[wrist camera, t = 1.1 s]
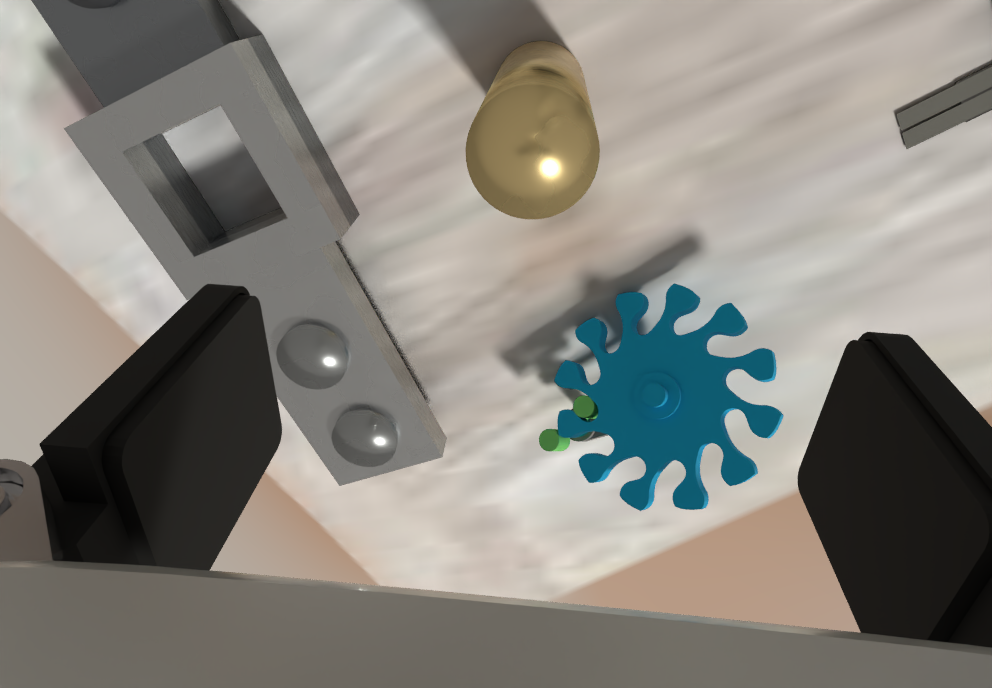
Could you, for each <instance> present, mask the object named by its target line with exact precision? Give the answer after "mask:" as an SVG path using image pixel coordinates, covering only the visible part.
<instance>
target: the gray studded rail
mask: <svg viewBox="0 0 992 688" xmlns="http://www.w3.org/2000/svg"><path fill="white" fill-rule="evenodd" d="M32 2H33V3H34V5H35V6H36V8H37V9H38V11H39V12H40V14H41V15H42V17H43V18H44V20H45V21H46V23H47V24H48V26H49V27H50V28H51V30H52V31H53V33H54V34H55V36H56V37H57V39H58V40H59V42H60V43H61V45H62V46H63V48H64V49H65V51H66V52H67V54H68V55H69V57H70V58H71V59H72V61H73V62H74V64H75V65H76V67H77V68H78V70H79V71H80V73H81V74H82V76H83V77H84V79H85V80H86V82H87V83H88V85H89V86H90V87H91V89H92V90H93V92H94V93H95V95H96V96H97V98H98V99H99V101H100V102H101V104H102V105H103V107H104V108H103V109H101V110H99V111H97V112H95V113H93V114H91V115H89V116H87V117H85V118H83V119H81V120H79V121H78V122H76V123H74V124H72V125H70V126H68V127H66V128H64V129H65V131H66V132H67V134H68V135H69V136H70V138H71V139H72V141H73V142H74V143H75V145H76V146H77V147H78V149H79V150H80V152H81V153H82V154H83V156H84V157H85V159H86V160H87V161H88V163H89V164H90V166H91V167H92V168H93V170H94V171H95V173H96V174H97V175H98V177H99V178H100V180H101V181H102V182H103V184H104V185H105V187H106V188H107V189H108V191H109V192H110V194H111V195H112V196H113V198H114V199H115V200H116V202H117V203H118V205H119V206H120V207H121V209H122V210H123V212H124V213H125V214H126V216H127V217H128V219H129V220H130V221H131V223H132V224H133V226H134V227H135V228H136V230H137V231H138V233H139V234H140V235H141V237H142V238H143V240H144V241H145V242H146V244H147V245H148V247H149V248H150V249H151V251H152V252H153V253H154V255H155V256H156V258H157V259H158V260H159V262H160V263H161V265H162V266H163V267H164V269H165V270H166V272H167V273H168V274H169V276H170V277H171V279H172V280H173V281H174V283H175V284H176V286H177V287H178V288H179V290H180V291H181V293H182V294H183V295H184V297H185V298H186V299H187V300H189V299H191V298H192V297H193V296H194V295H195V294H196V293H197V292H198V291H199V290H200V289H201V288H202V287H203V286H205V285H206V284H220V285H233V286H244V287H245V288H246V289H247V290H248V292H249V294H250V296H256V297H257V298H258V299H259V301H260V305H261V310H262V316H263V321H264V327H265V333H266V339H267V344H268V350H269V356H270V362H271V367H272V373H273V379H274V384H275V390H276V396H277V397H278V398H279V400H280V401H281V403H282V404H283V406H284V407H285V408H286V410H287V411H288V413H289V414H290V416H291V417H292V418H293V420H294V421H295V423H296V424H297V426H298V427H299V428H300V430H301V431H302V433H303V434H304V436H305V437H306V438H307V440H308V441H309V443H310V444H311V446H312V447H313V448H314V450H315V451H316V453H317V454H318V456H319V457H320V459H321V460H322V461H323V463H324V464H325V466H326V467H327V469H328V470H329V471H330V473H331V474H332V476H333V477H334V479H335V480H336V481H337V483H338V484H339V486H341V485H345V484H348V483H352V482H355V481H359V480H363V479H366V478H370V477H373V476H377V475H380V474H384V473H388V472H391V471H395V470H398V469H402V468H406V467H409V466H413V465H416V464H420V463H423V462H427V461H431V460H434V459H438V458H441V457H443V452H444V448H445V443H446V439H447V438H446V436H445V434H444V432H443V431H442V429H441V427H440V425H439V424H438V422H437V420H436V418H435V417H434V415H433V413H432V411H431V410H430V408H429V406H428V404H427V403H426V401H425V399H424V397H423V396H422V394H421V392H420V390H419V388H418V387H417V385H416V383H415V381H414V380H413V378H412V376H411V374H410V373H409V371H408V369H407V367H406V366H405V364H404V362H403V360H402V359H401V357H400V355H399V353H398V352H397V350H396V348H395V346H394V344H393V343H392V341H391V339H390V337H389V336H388V334H387V332H386V330H385V329H384V327H383V325H382V323H381V322H380V320H379V318H378V316H377V315H376V313H375V311H374V309H373V308H372V306H371V304H370V302H369V300H368V299H367V297H366V295H365V293H364V292H363V290H362V288H361V286H360V285H359V283H358V281H357V279H356V278H355V276H354V274H353V272H352V271H351V269H350V267H349V265H348V263H347V262H346V260H345V258H344V256H343V255H342V253H341V251H340V249H339V248H338V246H337V244H336V242H335V241H338V240H340V239H341V238H342V237H343V236H344V234H345V233H346V232H347V230H348V229H349V228H350V226H351V225H352V224H353V222H354V221H355V220H356V219H357V217H358V216H359V215H360V214H359V213H358V211H357V209H356V207H355V205H354V203H353V201H352V200H351V198H350V196H349V194H348V192H347V190H346V188H345V187H344V185H343V183H342V181H341V179H340V177H339V175H338V174H337V172H336V170H335V168H334V166H333V164H332V162H331V160H330V159H329V157H328V155H327V153H326V151H325V149H324V147H323V146H322V144H321V142H320V140H319V138H318V136H317V134H316V133H315V131H314V129H313V127H312V125H311V123H310V121H309V120H308V118H307V116H306V114H305V112H304V110H303V108H302V107H301V105H300V103H299V101H298V99H297V97H296V95H295V94H294V92H293V90H292V88H291V86H290V84H289V82H288V80H287V79H286V77H285V75H284V73H283V71H282V69H281V67H280V66H279V64H278V62H277V60H276V58H275V56H274V54H273V53H272V51H271V49H270V47H269V45H268V43H267V41H266V40H265V38H264V36H263V34H262V35H258V36H254V37H250V38H246V39H243V40H239V38H238V36H237V35H236V33H235V31H234V29H233V27H232V26H231V24H230V22H229V20H228V18H227V17H226V15H225V13H224V11H223V9H222V8H221V6H220V4H219V2H218V0H32ZM220 105H221V107H222V108H223V110H224V112H225V113H226V115H227V117H228V118H229V120H230V122H231V123H232V125H233V127H234V128H235V130H236V132H237V133H238V135H239V137H240V138H241V140H242V142H243V144H244V145H245V147H246V149H247V150H248V152H249V154H250V155H251V157H252V159H253V160H254V162H255V164H256V165H257V167H258V169H259V170H260V172H261V174H262V176H263V177H264V179H265V181H266V182H267V184H268V186H269V187H270V189H271V191H272V192H273V194H274V196H275V197H276V199H277V201H278V202H279V204H280V206H281V207H282V208H280V209H277V210H275V211H273V212H270V213H268V214H265V215H263V216H261V217H258V218H256V219H254V220H251V221H249V222H246V223H244V224H242V225H239V226H237V227H235V228H232V229H230V230H228V231H224V230H223V228H222V226H221V225H220V223H219V222H218V220H217V219H216V217H215V216H214V214H213V213H212V211H211V210H210V208H209V206H208V205H207V203H206V202H205V200H204V199H203V197H202V196H201V194H200V193H199V191H198V190H197V188H196V186H195V185H194V183H193V182H192V180H191V179H190V177H189V176H188V174H187V173H186V171H185V169H184V168H183V166H182V165H181V163H180V162H179V160H178V159H177V157H176V156H175V154H174V153H173V151H172V149H171V148H170V146H169V145H168V143H167V142H166V140H165V139H164V137H163V136H162V133H164V132H166V131H168V130H171V129H173V128H175V127H177V126H179V125H181V124H183V123H185V122H187V121H189V120H191V119H193V118H195V117H197V116H199V115H201V114H203V113H205V112H207V111H210V110H212V109H214V108H216V107H218V106H220Z"/></svg>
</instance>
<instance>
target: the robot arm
mask: <svg viewBox="0 0 992 688" xmlns="http://www.w3.org/2000/svg"><path fill="white" fill-rule="evenodd" d="M281 435H282V425H281V419H280V413H279V407H278V402H277V396H276V390H275V384H274V379H273V373H272V367H271V362H270V356H269V350H268V344H267V339H266V333H265V327H264V321H263V316H262V310H261V305H260V301H259V299H258V298H257V297H256V296H250V294H249V292H248V290H247V289H246V288H245V287H244V286H233V285H220V284H206V285H205V286H203V287H202V288H201V289H200V290H199V291H198V292H197V293H196V294H195V295H194V296H193V297H192V298H191V299H190V300H189V301H188V302H187V303H186V304H185V305H183V306H182V307H181V308H180V309H179V310H178V311H177V312H176V313H175V314H174V315H173V316H172V317H171V318H170V319H169V320H168V321H167V322H166V323H165V324H164V325H163V326H162V327H161V328H160V329H159V330H157V331H156V332H155V333H154V334H153V335H152V336H151V337H150V338H149V339H148V340H147V341H146V342H145V343H144V344H143V345H142V346H141V347H140V348H139V349H138V350H137V351H136V352H135V353H134V354H133V355H131V356H130V357H129V358H128V359H127V360H126V361H125V362H124V363H123V364H122V365H121V366H120V367H119V368H118V369H117V370H116V371H115V372H114V373H113V374H112V375H111V376H110V377H109V378H108V379H107V380H105V382H103V383H102V384H101V385H100V386H99V387H98V388H97V389H96V390H95V391H94V392H93V393H92V394H91V395H90V396H89V397H88V398H87V399H86V400H85V401H84V402H83V403H82V404H81V405H79V406H78V407H77V408H76V409H75V410H74V411H73V412H72V413H71V414H70V415H69V416H68V417H67V418H66V419H65V420H64V421H63V422H62V423H61V424H60V425H59V426H58V427H57V428H56V429H55V430H53V431H52V432H51V434H49V435H48V437H46V438H45V439H44V440H43V441H42V442H41V443H40V447H41V449H42V451H43V455H42V456H41V457H40V458H39V459H38V460H37V461H36V462H35V463H34V464H33V465H32V466H30V465H28V464H26V463H24V462H22V461H16V460H10V459H0V688H992V427H991V426H990V425H989V424H988V423H987V421H986V420H985V419H984V418H983V417H982V416H981V415H980V414H979V412H978V411H977V410H976V409H975V408H974V407H973V406H972V405H971V403H970V402H969V401H968V400H967V399H966V398H965V397H964V396H963V395H962V393H961V392H960V391H959V390H958V389H957V388H956V387H955V386H954V384H953V383H952V382H951V381H950V380H949V379H948V378H947V377H946V376H945V374H944V373H943V372H942V371H941V370H940V369H939V368H938V367H937V365H936V364H935V363H934V362H933V361H932V360H931V359H930V358H929V357H928V355H927V354H926V353H925V352H924V351H923V350H922V349H921V348H920V346H919V345H918V344H917V343H916V342H915V341H914V340H913V339H912V338H911V337H910V336H908V335H902V334H888V333H875V332H866V333H864V334H863V335H862V336H861V337H860V338H859V339H858V340H852V341H850V342H849V343H848V344H847V346H846V348H845V350H844V353H843V355H842V358H841V361H840V363H839V366H838V369H837V371H836V374H835V376H834V379H833V382H832V384H831V387H830V389H829V392H828V395H827V397H826V400H825V403H824V405H823V408H822V410H821V413H820V416H819V418H818V421H817V424H816V426H815V429H814V431H813V434H812V437H811V439H810V442H809V445H808V447H807V450H806V452H805V455H804V458H803V460H802V463H801V466H800V468H799V472H798V488H799V491H800V494H801V496H802V499H803V501H804V503H805V505H806V508H807V510H808V513H809V515H810V517H811V519H812V522H813V524H814V526H815V529H816V531H817V533H818V535H819V538H820V540H821V542H822V544H823V547H824V549H825V551H826V554H827V556H828V558H829V561H830V563H831V565H832V567H833V569H834V572H835V574H836V577H837V579H838V581H839V583H840V586H841V588H842V590H843V593H844V595H845V597H846V599H847V602H848V603H849V606H850V608H851V611H852V613H853V615H854V618H855V620H856V622H857V625H858V627H859V629H860V631H861V633H857V632H847V631H838V630H828V629H818V628H809V627H799V626H789V625H779V624H769V623H759V622H748V621H740V620H730V619H720V618H710V617H700V616H690V615H681V614H670V613H661V612H650V611H639V610H630V609H620V608H609V607H599V606H587V605H578V604H568V603H558V602H548V601H537V600H527V599H516V598H506V597H495V596H485V595H474V594H464V593H453V592H443V591H432V590H421V589H410V588H399V587H388V586H377V585H366V584H355V583H343V582H333V581H322V580H311V579H300V578H289V577H277V576H267V575H255V574H243V573H233V572H221V571H209V570H210V569H211V567H212V565H213V563H214V561H215V559H216V558H217V556H218V554H219V552H220V551H221V549H222V547H223V545H224V543H225V542H226V540H227V538H228V536H229V535H230V533H231V531H232V529H233V527H234V526H235V524H236V522H237V520H238V518H239V517H240V515H241V513H242V511H243V509H244V508H245V506H246V504H247V502H248V500H249V499H250V497H251V495H252V493H253V491H254V490H255V488H256V486H257V484H258V483H259V481H260V479H261V477H262V475H263V474H264V472H265V470H266V468H267V467H268V465H269V463H270V461H271V459H272V458H273V456H274V454H275V452H276V450H277V449H278V446H279V444H280V440H281Z"/></svg>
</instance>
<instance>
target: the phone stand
mask: <svg viewBox="0 0 992 688" xmlns="http://www.w3.org/2000/svg"><path fill="white" fill-rule="evenodd" d="M955 84H956V85H954V86H952V87H950V88H948V89H946V90H944V91H942V92H940V93H938V94H936V95H934V96H932V97H930V98H928V99H926V100H924V101H922V102H920V103H918V104H916V105H914V106H912V107H910V108H908V109H906V110H904V111H902V112H900V113H898V114H896V115H897V118H898V122H899V125H900V128H901V131H902V130H904V129H906V128H908V127H910V126H912V125H914V124H916V123H918V122H920V121H922V120H925V119H927V118H929V117H931V116H933V115H935V114H937V113H939V112H941V111H943V110H945V109H947V108H949V107H951V106H953V105H955V104H957V103H959V102H960V103H961V105H959V106H957V107H955V108H953V109H950V110H948V111H946V112H944V113H942V114H940V115H938V116H936V117H934V118H932V119H930V120H928V121H926V122H924V123H922V124H920V125H918V126H916V127H914V128H912V129H910V130H908V131H906V132H903V133H902V135H903V138H904V142H905V145H906V149H908V148H911V147H913V146H915V145H917V144H919V143H921V142H923V141H925V140H927V139H929V138H931V137H933V136H935V135H938V134H940V133H942V132H944V131H946V130H948V129H950V128H952V127H954V126H956V125H958V124H960V123H962V122H968V121H970V120H972V119H974V118H976V117H978V116H980V115H982V114H984V113H986V112H988V111H990V110H992V64H991V65H989V66H987V67H985V68H983V69H981V70H979V71H977V72H975V73H973V74H971V75H969V76H967V77H965V78H963V79H961V80H959V81H957V82H955Z"/></svg>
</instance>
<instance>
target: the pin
mask: <svg viewBox="0 0 992 688" xmlns="http://www.w3.org/2000/svg"><path fill="white" fill-rule="evenodd" d="M599 153H600V149H599V140H598V135H597V130H596V126H595V122H594V117H593V113H592V109H591V105H590V101H589V96H588V92H587V88H586V84H585V79H584V75H583V72H582V69H581V67H580V65H579V63H578V61H577V60H576V58H575V57H574V56H573V55H572V54H571V53H570V52H569V51H568V50H567V49H565V48H564V47H562V46H560V45H558V44H556V43H552V42H548V41H535V42H530V43H526V44H524V45H522V46H520V47H518V48H517V49H515V50H514V51H513V52H512V53H510V54H509V56H508V57H507V58H506V59H505V60H504V62H503V63H502V65H501V67H500V69H499V71H498V73H497V75H496V77H495V79H494V81H493V83H492V85H491V87H490V89H489V91H488V93H487V95H486V97H485V99H484V101H483V103H482V105H481V107H480V109H479V111H478V113H477V115H476V117H475V119H474V121H473V123H472V125H471V128H470V130H469V133H468V138H467V142H466V162H467V168H468V171H469V175H470V177H471V179H472V182H473V184H474V186H475V187H476V189H477V191H478V192H479V193H480V194H481V196H482V197H483V198H484V199H485V200H486V201H487V202H488V203H489V204H490V205H492V206H493V207H494V208H496V209H498V210H499V211H501V212H503V213H505V214H508V215H510V216H513V217H517V218H522V219H542V218H547V217H551V216H554V215H557V214H559V213H561V212H563V211H565V210H567V209H568V208H570V207H571V206H573V205H574V204H575V203H576V202H577V201H579V200H580V199H581V197H582V196H583V195H584V194H585V193H586V191H587V190H588V188H589V187H590V185H591V183H592V181H593V179H594V177H595V174H596V171H597V168H598V163H599Z"/></svg>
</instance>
